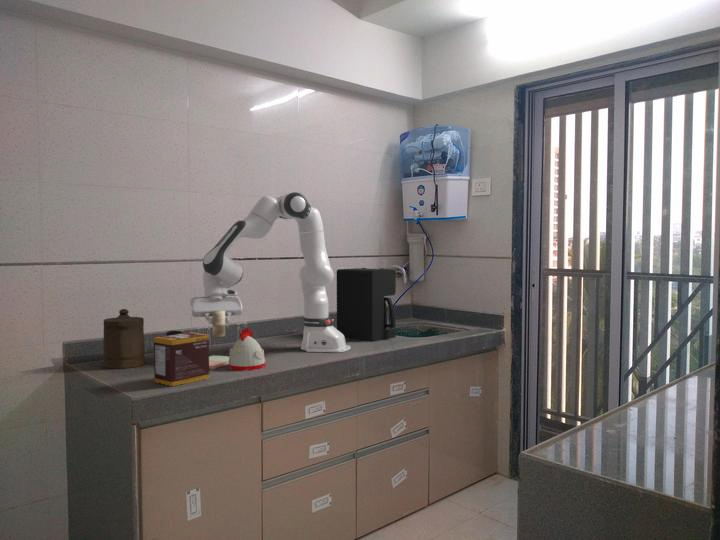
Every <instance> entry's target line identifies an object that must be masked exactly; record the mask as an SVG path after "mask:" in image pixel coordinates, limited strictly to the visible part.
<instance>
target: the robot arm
mask: <svg viewBox="0 0 720 540" xmlns="http://www.w3.org/2000/svg"><path fill="white" fill-rule="evenodd" d="M278 218H280V219H284V220H292V219H294V220H295V221H296V223H297V226H298V234H299V235H298V236H299V244H300V251H301V253H302V256H303V259H304V263H305V264H304V265H303V266H302V267H301V268H300V271H299V278H300V281H301V288H302V289H301V290H302V294H303V318H302V327H303V336H302V340H301V341H302V342H301V345H300V346H301V347H300V349H301V350H302V351H305V352H307V353H344V352H347V351H349V350H351V345H350V344H347V343H346V338H345V337H344V335H343V334H342V333H341V332H340V331H338V330H337V327H335V326H334V325H333V322H334V318H331V317H330V316H329V315H330V313H329V297H328V295H327V290H326V287H328V286H329V285H330V284H331V283H332V282H333V280H334V277H335V276H334V271H333V269H332V266H331V263H330V259H329V256H328V252H327V247H326V241H325V232H324V224H323V219H322V216H321V212H320V210H319V209H317V208H316V207H313V206H311V205H310V203H309V202H308V198H306V196H305V195H304V194H302V193H301V192H296V191H295V192H288V193H285V194H284V195H281V196H280V197H278V198H275V197H273V196H271V195H264V196H262V197H261V198H259V200H258V201H257V202H256V203H255V205H254V206H253V207H252V209H251V211H250V212H249V213H248V215H247V216H246V217H245V218H244V219H241V220H238V221H236V222H235V223H233V225H232V226H231V227H230V228H229V229H228V230H227V231H226V233H225V234H224V235H223V236H222V237H221V239H220V240H219V241H218V242H217V244H215V246H214V247H212V249H211V250H209V251H208V252H207V253H206V254H205V255H204V257H203V258H202V267H203V275H202V277H203V278H202V281H203V287H204V291H203V292H204V293H203V294H204V296H194V297H192V298H191V299H190V300H189V301H190V306H191V316H192V317H193V318H204V317H205V320H206V321H207V322H208V325H212V324H213V318H212V311H225V325H227V324H230V319H231V317H233V316H234V317H235V316H236V317H237V316H241V315H242V314H243V311H244V307H243V304H242V301H241V298H240V297H239V296H238V291H237V290H232V289H231V288H232V287H234V286H235V285H237V284H238V283H240V282H241V281H242V279H243V277H244V268H243V266H242V265H241V264H239V263H238V262H237V261H235V260H233V259H232V258H230V257H229V256H227V253H229V250H231V249H232V247H233V246H234V245H235V243H237V241H238V240H239V239H241V238H242V239H243V238H249V239H253V240H254V239H255V240H257V239H263V238H264V237H266V236H267V235H268V234H269V232H270V230H271V229H272V228H273V225H274V224H275V221H276V220H277V219H278ZM229 288H230V289H229Z"/></svg>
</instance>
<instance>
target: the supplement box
mask: <svg viewBox="0 0 720 540" xmlns="http://www.w3.org/2000/svg"><path fill="white" fill-rule="evenodd" d="M209 340H210V335H209V334H206V333H205V334H204V333H198V332H194V331H190V332H185V333H183V332H182V334H175V335H168V336H166V335H164V336H163V335H162V336H156V337H153V359H154V360H153V361H154V362H153V363H154V364H153V365H154V368H153V369H154V372H153V373H154V383H155V382H157V383H156V384H159V383H161V385H163V384H165V386H167V385H169V387H171V386H172V387H176V386H175V385H177V386H181V385H180V384H182V385H186V384H190V382H191V383H195V382H194V381H196V382H198V380H200V381H204V380H203V379H205V380H209V379H210V369H209V357H210V341H209ZM208 378H209V379H208ZM185 383H186V384H185Z"/></svg>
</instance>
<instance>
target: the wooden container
mask: <svg viewBox="0 0 720 540" xmlns="http://www.w3.org/2000/svg"><path fill="white" fill-rule="evenodd" d="M118 313H119V315H118V316H117V317H111V318H110V317H109V318H105V319H103V347H102V348H103V366H104V368H107V369H113V370H114V369H116V370H117V369H130V368H135V367H141V366H143V365H145V363H146V362H145V361H146V360H145V354H146V353H145V350H146V349H145V334H144V332H145V331H144V325H145V324H144V322H145V321H144V317H141V316H138V317H137V316H130V315H129V310H128V309H126V308H122V309H120V310H119V311H118Z"/></svg>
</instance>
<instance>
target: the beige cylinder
mask: <svg viewBox="0 0 720 540" xmlns="http://www.w3.org/2000/svg"><path fill="white" fill-rule="evenodd" d="M211 318H213V324H211V326H212V337H214V338H223V337H226V324H225V318H226V316H225V311H212V316H211Z"/></svg>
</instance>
